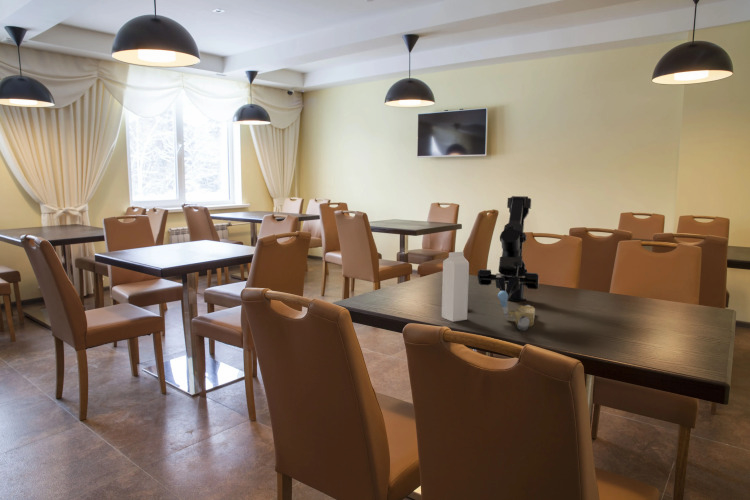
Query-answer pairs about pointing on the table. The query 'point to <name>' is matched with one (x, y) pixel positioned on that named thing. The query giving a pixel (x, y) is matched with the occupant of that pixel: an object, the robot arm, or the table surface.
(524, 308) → the valve
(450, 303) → the milk
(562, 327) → the table surface
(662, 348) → the table surface
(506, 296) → the lever
